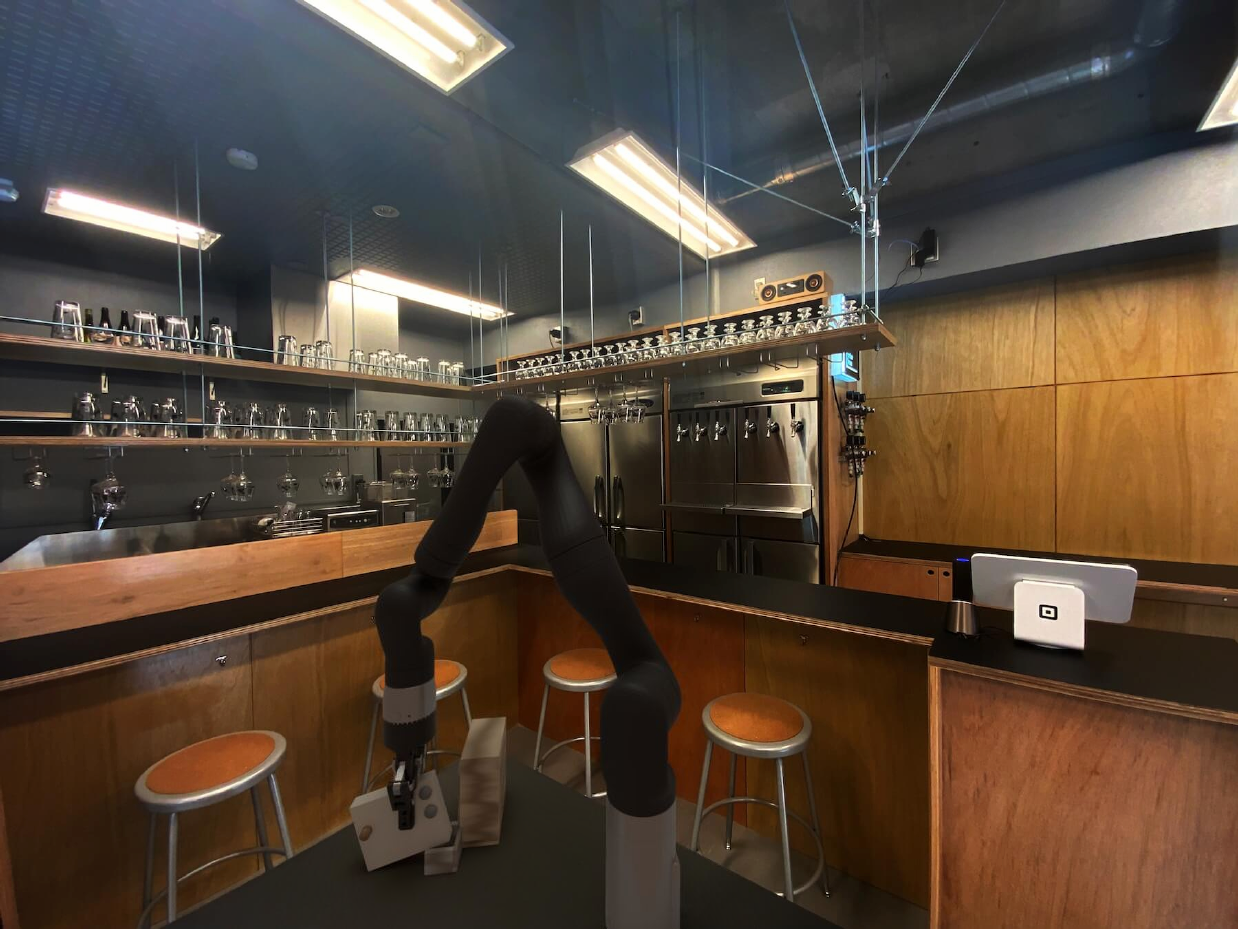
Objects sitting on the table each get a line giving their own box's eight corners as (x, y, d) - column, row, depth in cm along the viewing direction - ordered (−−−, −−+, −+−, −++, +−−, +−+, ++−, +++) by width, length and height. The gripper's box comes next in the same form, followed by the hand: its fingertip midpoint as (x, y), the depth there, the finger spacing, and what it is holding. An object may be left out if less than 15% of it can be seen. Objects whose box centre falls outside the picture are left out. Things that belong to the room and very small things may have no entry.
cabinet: (505, 792, 87) (506, 717, 87) (495, 867, 71) (496, 774, 71) (448, 798, 86) (448, 721, 86) (424, 875, 69) (425, 780, 70)
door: (452, 829, 74) (434, 769, 74) (447, 847, 71) (429, 785, 70) (374, 858, 73) (355, 797, 72) (365, 878, 69) (345, 814, 69)
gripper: (423, 731, 66) (423, 855, 66) (445, 685, 80) (445, 787, 80) (366, 735, 65) (366, 861, 65) (398, 688, 79) (398, 792, 79)
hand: (409, 820), depth 72 cm, fingers closed on door, 2 cm apart
